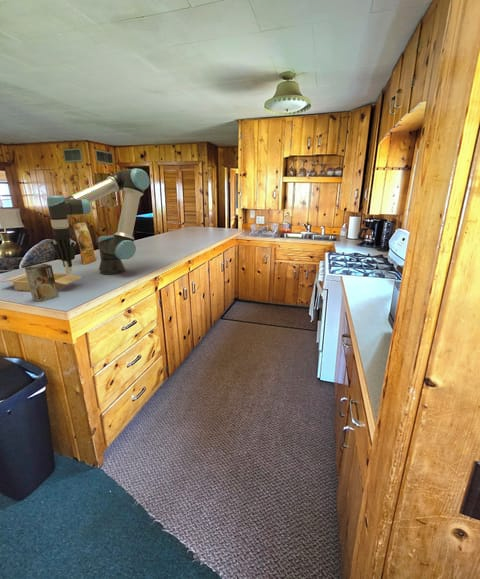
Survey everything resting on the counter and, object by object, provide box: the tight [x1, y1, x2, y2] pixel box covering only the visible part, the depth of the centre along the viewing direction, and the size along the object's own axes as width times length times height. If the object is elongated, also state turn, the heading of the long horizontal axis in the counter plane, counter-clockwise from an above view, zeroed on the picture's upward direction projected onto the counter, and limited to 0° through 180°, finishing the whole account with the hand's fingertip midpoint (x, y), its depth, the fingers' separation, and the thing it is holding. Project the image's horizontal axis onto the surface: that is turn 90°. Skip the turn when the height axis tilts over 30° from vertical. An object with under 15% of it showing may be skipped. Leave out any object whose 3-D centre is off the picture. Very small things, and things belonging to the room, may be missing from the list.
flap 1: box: [0, 273, 27, 283], centre depth 159 cm, size 1×14×7 cm
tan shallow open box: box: [12, 272, 71, 292], centre depth 159 cm, size 21×16×5 cm
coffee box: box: [24, 263, 59, 302], centre depth 141 cm, size 9×6×16 cm
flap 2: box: [55, 273, 83, 286], centre depth 157 cm, size 1×14×7 cm
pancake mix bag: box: [72, 221, 97, 265], centre depth 209 cm, size 7×19×28 cm, turn 176°
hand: (69, 272), depth 156 cm, fingers closed
